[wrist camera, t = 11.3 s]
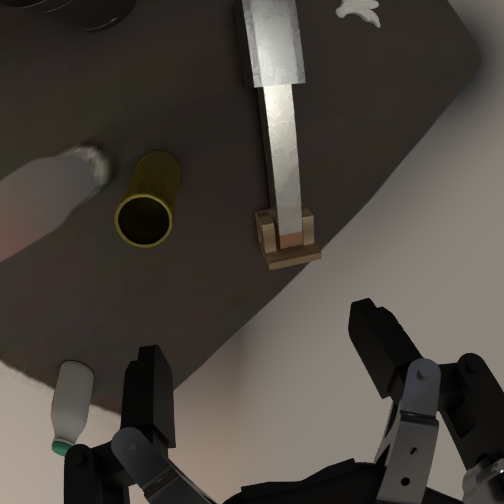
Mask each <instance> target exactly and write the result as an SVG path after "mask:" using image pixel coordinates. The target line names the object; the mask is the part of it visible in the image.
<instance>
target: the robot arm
mask: <svg viewBox="0 0 504 504" xmlns="http://www.w3.org/2000/svg"><path fill="white" fill-rule="evenodd" d="M135 2H136V0H0V4H1V5H5V6H9V7H12V8H16V9H20V10H23V11H27V12H31V13H34V14H37V15H41V16H44V17H47V18H50V19H53V20H56V21H59V22H61V23H64V24H67V25H70V26H73V27H75V28H78V29H81V30H83V31H90V32H93V31H100V30H105V29H107V28H109V27H112V26H114V25H115V24H117V23H118V22H120V21H121V20H122V19H123V18H125V17H126V16H127V14H128V13H129V12H130V11H131V9H132V8H133V6H134V4H135ZM348 331H349V336H350V339H351V341H352V343H353V345H354V347H355V348H356V350H357V352H358V354H359V356H360V358H361V359H362V362H363V363H364V365H365V367H366V369H367V371H368V373H369V375H370V376H371V378H372V380H373V383H374V384H375V386H376V388H377V390H378V392H379V394H380V396H381V398H382V399H384V398H386V397H389V396H390V397H391V398H392V400H393V402H392V405H391V409H390V413H389V417H388V421H387V425H386V428H385V432H384V435H383V438H382V442H381V444H380V447H379V449H378V451H377V453H376V456H375V459H374V462H373V463H367V462H357V463H355V460H354V458H352V459H349V460H346V461H343V462H340V463H337V464H334V465H331V466H328V467H326V468H324V469H322V470H320V471H319V472H317V473H315V474H313V475H311V476H310V477H308V478H306V479H304V480H302V481H296V482H265V483H260V484H255V485H249V486H243V487H241V491H242V492H240V493H238V494H235V495H234V496H232V497H230V498H229V499H227V500H226V501H225V502H224V503H223V504H504V392H503V390H502V389H501V387H500V385H499V384H498V382H497V380H496V379H495V377H494V376H493V374H492V372H491V371H490V369H489V368H488V366H487V365H486V363H485V362H484V360H483V359H482V358H481V357H480V356H478V355H477V354H474V353H467V354H464V355H462V356H461V357H460V359H459V360H458V362H457V363H449V364H440V365H438V364H436V363H435V362H434V361H432V360H430V359H425V358H423V357H422V356H421V354H420V353H419V351H418V350H417V348H416V347H415V345H414V344H413V342H412V341H411V339H410V338H409V336H408V335H407V334H406V332H405V331H404V330H403V328H402V326H401V325H400V324H399V323H398V321H397V319H396V318H395V316H394V315H393V314H392V313H391V312H390V311H388V310H387V309H385V308H384V307H379V308H377V307H376V306H375V305H374V303H373V301H371V299H369V298H366V299H362V300H359V301H355V302H352V304H351V309H350V317H349V325H348ZM124 384H125V385H124V388H123V392H124V394H123V400H122V413H121V426H120V430H119V431H118V432H117V433H116V434H115V435H114V436H113V438H112V440H111V441H110V442H107V443H105V444H102V445H99V446H96V447H93V448H89V447H88V446H86V445H84V444H76V445H73V446H72V447H70V448H69V449H68V451H67V452H66V455H65V461H64V504H130V498H129V488H128V486H131V485H134V484H138V485H139V487H140V488H141V489H142V490H143V492H144V496H145V498H146V499H147V501H148V502H149V503H150V504H217V503H216V502H215V501H214V500H213V499H212V498H210V497H209V496H208V495H207V494H206V493H205V492H203V491H202V490H201V489H200V488H199V487H198V486H196V485H195V484H194V483H193V482H192V481H191V480H190V479H189V478H188V477H187V476H186V475H185V474H184V473H183V472H182V471H181V470H180V469H179V468H178V467H177V466H176V465H175V464H174V463H173V462H172V461H171V460H170V459H169V458H168V448H175V447H176V442H175V425H174V401H173V376H172V371H171V368H170V366H169V364H168V362H167V360H166V358H165V356H164V354H163V353H162V351H161V349H160V347H159V345H150V346H144V347H140V348H139V354H138V360H137V361H131V362H130V364H129V366H128V368H127V369H126V371H125V378H124ZM437 411H439V412H440V414H441V415H442V418H443V420H444V422H445V424H446V426H447V428H448V430H449V432H450V435H451V436H452V439H453V441H454V443H455V445H456V447H457V450H458V452H459V454H460V456H461V459H462V461H463V464H464V466H465V468H466V470H467V472H466V474H465V475H464V478H463V485H462V488H463V490H464V496H463V499H462V501H460V500H458V499H455V498H452V497H450V496H447V495H445V494H442V493H440V492H438V491H435V490H433V489H431V488H428V487H426V485H427V480H428V476H429V473H430V469H431V465H432V460H433V455H434V451H435V446H436V441H437V435H438V430H439V421H438V420H436V412H437Z"/></svg>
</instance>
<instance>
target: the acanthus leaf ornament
mask: <svg viewBox="0 0 504 504" xmlns="http://www.w3.org/2000/svg"><path fill="white" fill-rule="evenodd" d="M378 5H379V4H378V2H377V1H373V0H342V4H341V6H340V7H339V8H337V9H336V14H337V16H338V17H340V18H343V17H345V15H346V14H350V13H353V14H357V15H358V16H360V17H361V18H362V19H363V20H364V21H365V22H371V23H374V24H375V25H376V26H377V27H380V23H379V19H378V17H377V15H376V14H375V13H374V12H373V11H372V10H370V9H374V8H377V7H378Z"/></svg>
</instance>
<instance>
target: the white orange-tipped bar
mask: <svg viewBox="0 0 504 504" xmlns="http://www.w3.org/2000/svg"><path fill="white" fill-rule="evenodd" d="M256 88H257V96H258V103H259V111H260V119H261V127H262V135H263V144H264V152H265V161H266V169H267V178H268V187H269V196H270V205H271V215H272V221H273V223H274V230H275V238H276V240H277V242H278V244H279V246H280V248H281V249H283V248H288V247H293V246H298V245H303V233H302V213H301V196H300V181H299V166H298V153H297V141H296V130H295V119H294V108H293V98H292V89H291V84H284V85H273V86H263V87H256Z"/></svg>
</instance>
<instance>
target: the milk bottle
mask: <svg viewBox="0 0 504 504" xmlns="http://www.w3.org/2000/svg"><path fill="white" fill-rule="evenodd" d="M93 380H94V375H93V372H92V371H91V369H90V368H89V367H87V366H86V365H84V364H82V363H80V362H77V361H66V362H64V363H63V364H62V365H61V368H60V371H59V375H58V379H57V383H56V387H55V391H54V396H53V401H52V406H51V419H52V424H53V427H54V433H55V438H54V439H53V443H52V450H53V451H54V452H55V453H57V454H59V455H61V456H64V457H65V455H66V452H67V451H68V449H69V448H70V447H72V446H73V445H75V443H76V440H77V438H78V436H79V435H80V434H81V432H82V431H83V430H84V427H85V425H86V422H87V417H88V411H89V405H90V399H91V392H92V386H93Z"/></svg>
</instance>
